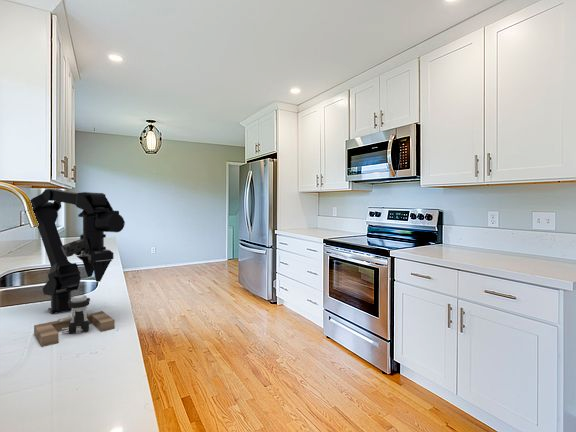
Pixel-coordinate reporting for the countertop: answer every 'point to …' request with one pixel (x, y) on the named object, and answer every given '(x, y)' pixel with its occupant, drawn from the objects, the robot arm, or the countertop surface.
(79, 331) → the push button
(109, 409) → the countertop surface
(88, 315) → the notched board
